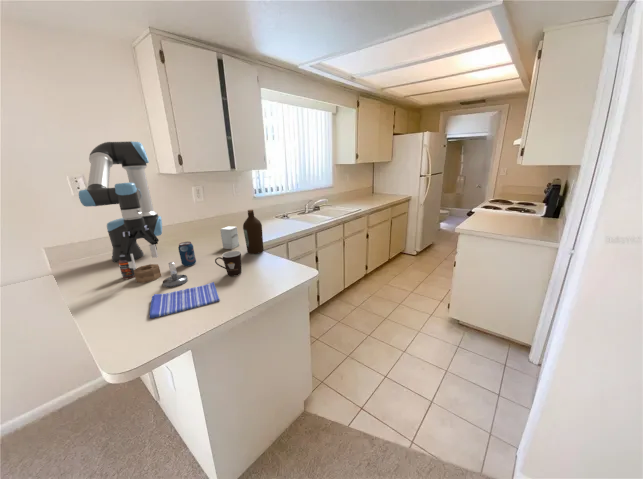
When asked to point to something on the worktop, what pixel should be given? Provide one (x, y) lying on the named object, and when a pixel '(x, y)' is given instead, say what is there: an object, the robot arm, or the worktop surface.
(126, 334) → the worktop surface
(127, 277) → the supplement bottle
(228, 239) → the supplement box
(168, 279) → the silver peg stand
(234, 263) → the coffee mug
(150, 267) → the walnut ring
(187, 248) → the soda can
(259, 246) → the olive oil
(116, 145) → the robot arm
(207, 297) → the dish towel
